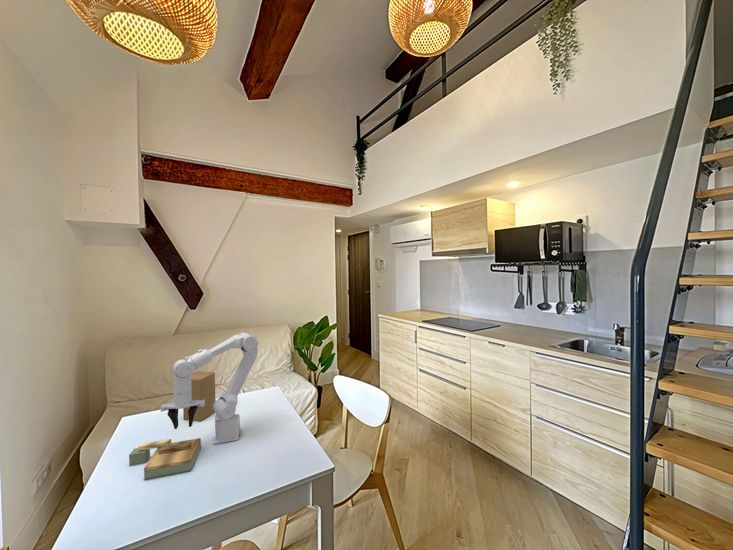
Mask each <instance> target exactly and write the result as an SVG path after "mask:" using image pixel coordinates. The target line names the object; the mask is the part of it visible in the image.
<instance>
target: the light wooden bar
mask: <svg viewBox="0 0 733 550" xmlns="http://www.w3.org/2000/svg"><path fill="white" fill-rule="evenodd" d="M171 443H172V438H169V439H162V440H155V441H152V442H151V441H150V442H144V443H140V444H139V445H138V447H137V448H138V451H141V450H147V449H150V450H152V449H157V448H159V447H165V446H170V444H171Z"/></svg>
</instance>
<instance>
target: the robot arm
mask: <svg viewBox="0 0 733 550" xmlns="http://www.w3.org/2000/svg"><path fill="white" fill-rule="evenodd" d="M258 346H259V342H258V338H257V336H255V335H252V334H249V333H247V332H243V331H241V332H239V333H238V334H234V335H232V336H231V337H229V338H228V339H226V340H223V341H222V342H221V343H219V344H217V345H216V346H214V347H212V348H210V349H198V350H197V352H196V353H193V354H191V355H189V356H185V357H184V359H179V360H176V361H175V362H174V363H173V365H172V368H171V371H172V373H173V374H174V377H173V379H174V381H173V396H174V397H173V401H174V402H170V403H164V404H162V405H161V406H160V412H161V413H163V412H165V411H167V413H166V414H167V416H168V418H169V419H170V420H171V423H172V425H173V428H174V430H177V429H178V428H179V409H183V408H190V409H189V410H188V415H189V420H188V428H191V427H192V426H193V422H194V421H193V418H194V415H195V412H196V410H197V408H198V406H201V407H203V406H204V405H205V400H192V385H191V374H193V373H194V371H196V370H197V369H199V368H202V367H204V366H205V365H207V364H209V363H210V362H212V360H213V358H214V357H216V356H218V355H220V354H222V353H224V352H226V351H229V350H231V349H240V350H241V353H242V358H241V360H240V363H239V364H238V366H237V368H236V370H235V371H234V374H233V376H232V378H230V379H231V380H230V382H229V383H228V385H227V387H226V389H225V391H224V392H222V393H221V394H220V395H219V398H217V399H216V401H215V403H214V405H213V410H214V411H215V412H214V413H215V416H214V427H215V428H214V430H215V431H214V432H215V435H214V439H213V442H212V444H213V445H217V444H223V443H228V442H234V441H238V440H239V438H240V433H241V420H240V419H241V418H240V417H241V416H240V414H239V413H238V414H235V413H236V411H237V405H238V396H239V394H240V392H241V389H243V386H244V383H245V382H246V380H247V377H248V375H249V373H250V372H251V370H252V368H253V365H254V364H255V362H256V359H257V357H258Z"/></svg>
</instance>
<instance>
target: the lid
mask: <svg viewBox="0 0 733 550" xmlns="http://www.w3.org/2000/svg"><path fill="white" fill-rule="evenodd" d="M200 441H201V442H202V438H201V437H198V438H194V439H186V440H181V441H175V442H171V444H170V446H165V447H159V448H156V450H155V451H154V453H153V454H152V455H151V456H150V458H149V459H148V461H147V462H146V464H145V466H144V468H143V472H144V471H147V470H153V469H158V468H164V467H169V466H174V465H180V464H185V463H191V461H192V459H193V457H194V454H195V452H196V450H197V448H198V446H199V443H200Z"/></svg>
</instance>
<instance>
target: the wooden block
mask: <svg viewBox="0 0 733 550" xmlns="http://www.w3.org/2000/svg"><path fill="white" fill-rule="evenodd" d="M215 376H216V375H215V372H213V371H198V370H197V371H196V372H192V374H191V385H192V400H205V405H204V406H203V407H201V406H198V408H197V410H196V412H195V415H194V418H193V422H195V421H196V422H203V421H204V420H205V419H207V418H208V417H210V416H212V415H214V413H216V412H215V411H214V410H213V405H214V403H215V401H216V400H217V399H216V380H215V379H216V377H215ZM182 409H183V411H182V412H183V413H182V414H183V420H184V421H189V415H188V410H189V409H190V408H182Z"/></svg>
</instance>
